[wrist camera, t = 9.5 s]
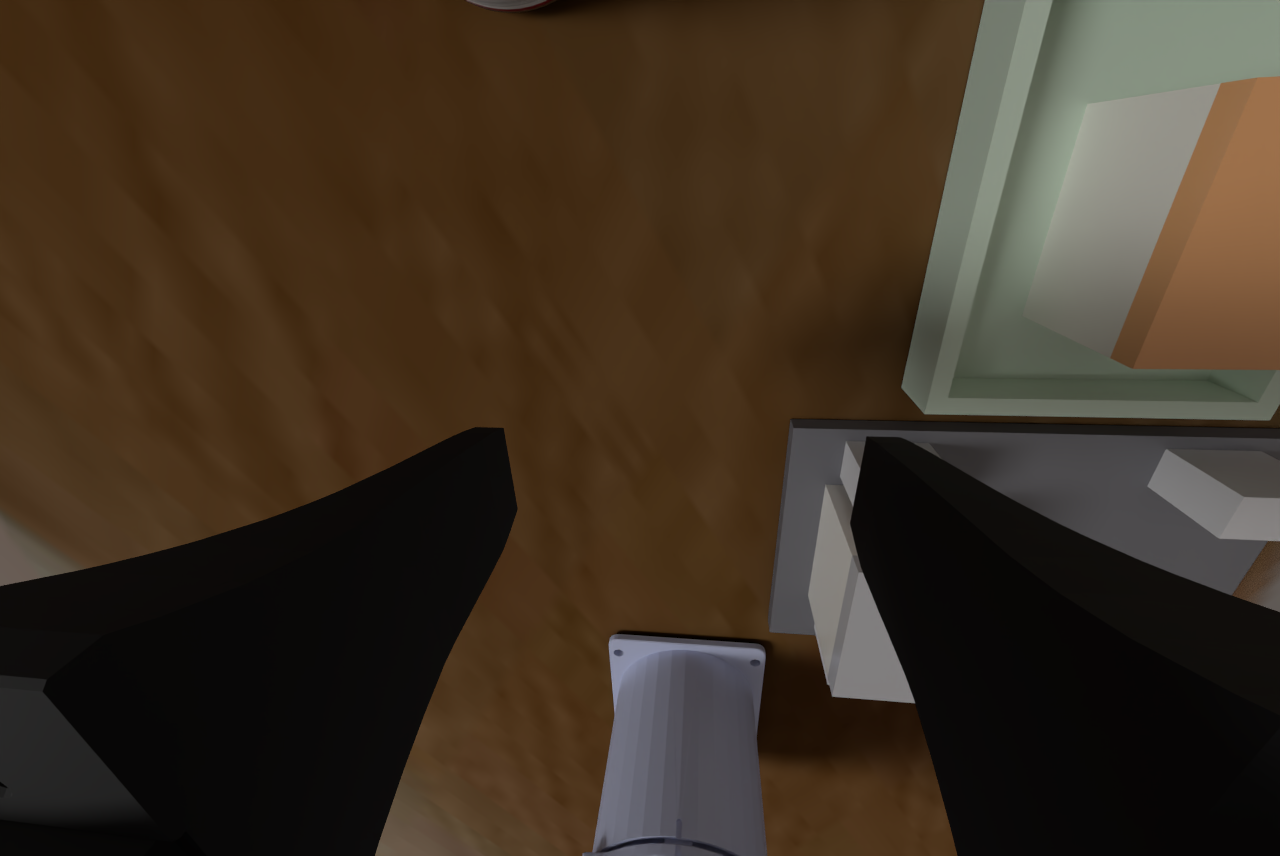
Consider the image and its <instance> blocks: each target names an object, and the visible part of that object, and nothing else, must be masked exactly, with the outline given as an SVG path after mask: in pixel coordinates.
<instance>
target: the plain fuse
mask: <svg viewBox="0 0 1280 856" xmlns="http://www.w3.org/2000/svg"><path fill="white" fill-rule="evenodd" d="M852 510H853V506H852V503H851V501H850V499H849V496H848V494H847V492H846V489H845V487H844V485H825V491H824V498H823V504H822V510H821V517H820V523H819V529H818V536H817V542H816V548H815V555H814V561H813V567H812V573H811V580H810V586H809V592H808V597H809V601H810V606H811V610H812V614H813V618H814V622H815V627H816V631H817V635H818V639H819V643H820V648H821V652H822V656H823V660H824V664H825V669H826V673H827V677H828V681H829V685H830V690H831V694H832V697H843V698H856V699H869V700H881V701H894V702H906V703H915V701H914V698H913V695H912V693H911V690H910V687H909V684H908V682H907V679H906V676H905V674H904V671H903V669H902V666H901V664H900V662H899V659H898V657H897V654H896V652H895V650H894V647H893V645H892V642H891V640H890V638H889V635H888V633H887V630H886V628H885V626H884V623H883V621H882V618H881V616H880V614H879V611H878V609H877V606H876V604H875V601H874V599H873V597H872V594H871V592H870V589H869V587H868V584H867V582H866V579H865V577H864V574H863V572H862V569H861V566H860V562H859V558H858V555H857V551H856V547H855V543H854V539H853V534H852V530H851V526H850V520H851V515H852Z"/></svg>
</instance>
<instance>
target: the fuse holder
mask: <svg viewBox="0 0 1280 856" xmlns="http://www.w3.org/2000/svg"><path fill="white" fill-rule="evenodd" d="M867 436H872V437H901V438H903V439H906V440H908V441H910V442H912V443H914V444H916V445H918V446H920V447H922V448H923V449H925V450H927V451H929V452H931V453H932V454H934V455H936V456H938V457H939V458H941V459H943V460H944V461H946V462H948V463H950V464H951V465H953V466H955V467H956V468H958V469H960V470H962V471H963V472H965V473H967V474H968V475H970V476H972V477H974V478H975V479H977V480H979V481H981V482H982V483H984V484H986V485H988V486H989V487H991V488H993V489H995V490H996V491H998V492H1000V493H1002V494H1004V495H1005V496H1007V497H1009V498H1011V499H1013V500H1015V501H1016V502H1018V503H1020V504H1022V505H1024V506H1026V507H1028V508H1030V509H1032V510H1034V511H1036V512H1038V513H1039V514H1041V515H1043V516H1045V517H1047V518H1049V519H1051V520H1053V521H1055V522H1057V523H1059V524H1061V525H1063V526H1065V527H1067V528H1069V529H1071V530H1074V531H1076V532H1078V533H1080V534H1082V535H1084V536H1086V537H1089V538H1091V539H1093V540H1095V541H1098V542H1100V543H1102V544H1104V545H1107V546H1109V547H1111V548H1113V549H1116V550H1118V551H1120V552H1123V553H1125V554H1127V555H1129V556H1132V557H1134V558H1136V559H1139V560H1141V561H1143V562H1146V563H1148V564H1151V565H1153V566H1156V567H1158V568H1161V569H1163V570H1166V571H1168V572H1171V573H1173V574H1176V575H1178V576H1181V577H1184V578H1186V579H1189V580H1192V581H1194V582H1197V583H1200V584H1202V585H1205V586H1208V587H1210V588H1213V589H1216V590H1218V591H1221V592H1224V593H1226V594H1229V595H1232V594H1233V592H1234V591H1235V589H1236V588H1237V586H1238V585H1239V583H1240V582H1241V580H1242V579H1243V577H1244V576H1245V574H1246V573H1247V571H1248V570H1249V568H1250V567H1251V565H1252V564H1253V562H1254V561H1255V559H1256V558H1257V556H1258V555H1259V553H1260V552H1261V550H1262V549H1263V547H1264V546H1265V544H1266V543H1267V541H1280V429H1269V428H1219V427H1168V426H1118V425H1067V424H1017V423H966V422H916V421H866V420H815V419H790V428H789V437H788V446H787V455H786V463H785V472H784V481H783V490H782V499H781V508H780V517H779V525H778V534H777V543H776V552H775V561H774V570H773V578H772V587H771V596H770V605H769V614H768V623H769V630H770V632H776V633H791V634H806V635H816V638H817V642H818V647H819V651H820V655H821V659H822V664H823V668H824V672H825V676H826V681H827V685H829V681H828V677H827V673H826V669H825V664H824V660H823V656H822V652H821V648H820V643H819V639H818V635H817V631H816V627H815V622H814V618H813V614H812V610H811V606H810V601H809V597H808V592H809V586H810V580H811V573H812V567H813V561H814V555H815V548H816V542H817V536H818V529H819V523H820V517H821V510H822V504H823V498H824V491H825V485H844V487H845V489H846V492H847V494H848V496H849V499H850V501H851V503H852V506H853V504H854V499H855V494H856V489H857V483H858V478H859V473H860V468H861V463H862V457H863V452H864V447H865V442H866V437H867Z"/></svg>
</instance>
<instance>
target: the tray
mask: <svg viewBox="0 0 1280 856" xmlns="http://www.w3.org/2000/svg"><path fill="white" fill-rule="evenodd" d="M1277 76H1280V0H985V3H984V7H983V12H982V16H981V21H980V26H979V30H978V35H977V40H976V44H975V49H974V53H973V58H972V63H971V67H970V72H969V77H968V81H967V86H966V90H965V95H964V100H963V104H962V109H961V114H960V118H959V123H958V127H957V132H956V137H955V141H954V146H953V151H952V155H951V160H950V164H949V169H948V174H947V178H946V183H945V188H944V192H943V197H942V201H941V206H940V211H939V215H938V220H937V225H936V229H935V234H934V238H933V243H932V248H931V252H930V257H929V262H928V266H927V271H926V275H925V280H924V285H923V289H922V294H921V299H920V303H919V308H918V312H917V317H916V322H915V326H914V331H913V336H912V340H911V345H910V349H909V354H908V359H907V363H906V368H905V373H904V377H903V382H902V386H901V388H902V389H903V390H904V391H905V392H906V394H907V395H908V396H909V397H910V398H911V399H912V400H913V402H914V403H915V404H916V405H917V406H918V407H919V408H920V410H921V411H922V412H923V413H924V414H945V415H1000V416H1055V417H1110V418H1165V419H1219V420H1271V418H1272V416H1273V415H1274V413H1275V411H1276V410H1277V408H1278V406H1279V404H1280V370H1207V369H1132V368H1129V367H1127V366H1125V365H1123V364H1121V363H1119V362H1117V361H1115V360H1113V359H1111V358H1109V357H1107V356H1104V355H1102V354H1100V353H1098V352H1096V351H1094V350H1092V349H1090V348H1088V347H1086V346H1084V345H1082V344H1080V343H1077V342H1075V341H1073V340H1071V339H1069V338H1067V337H1065V336H1063V335H1061V334H1059V333H1057V332H1055V331H1052V330H1050V329H1048V328H1046V327H1044V326H1042V325H1040V324H1038V323H1036V322H1034V321H1032V320H1030V319H1027V318H1025V317H1023V316H1022V314H1023V311H1024V308H1025V305H1026V301H1027V298H1028V295H1029V292H1030V288H1031V285H1032V282H1033V279H1034V276H1035V272H1036V269H1037V266H1038V263H1039V259H1040V256H1041V253H1042V250H1043V246H1044V243H1045V240H1046V237H1047V233H1048V230H1049V227H1050V224H1051V220H1052V217H1053V214H1054V211H1055V208H1056V204H1057V201H1058V198H1059V195H1060V191H1061V188H1062V185H1063V182H1064V178H1065V175H1066V172H1067V169H1068V165H1069V162H1070V159H1071V156H1072V153H1073V149H1074V146H1075V143H1076V140H1077V136H1078V133H1079V130H1080V127H1081V123H1082V120H1083V117H1084V114H1085V110H1086V107H1087V104H1091V103H1097V102H1104V101H1110V100H1116V99H1123V98H1129V97H1136V96H1142V95H1149V94H1155V93H1161V92H1168V91H1174V90H1181V89H1187V88H1193V87H1200V86H1206V85H1213V84H1219V83H1226V82H1232V81H1238V80H1245V79H1251V78H1258V77H1277Z"/></svg>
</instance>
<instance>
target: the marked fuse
mask: <svg viewBox="0 0 1280 856" xmlns="http://www.w3.org/2000/svg"><path fill="white" fill-rule="evenodd" d="M1022 316H1023V317H1025V318H1027V319H1030V320H1032V321H1034V322H1036V323H1038V324H1040V325H1042V326H1044V327H1046V328H1048V329H1050V330H1052V331H1055V332H1057V333H1059V334H1061V335H1063V336H1065V337H1067V338H1069V339H1071V340H1073V341H1075V342H1077V343H1080V344H1082V345H1084V346H1086V347H1088V348H1090V349H1092V350H1094V351H1096V352H1098V353H1100V354H1102V355H1104V356H1107V357H1109V358H1111V359H1113V360H1115V361H1117V362H1119V363H1121V364H1123V365H1125V366H1127V367H1129V368H1132V369H1207V370H1280V76H1277V77H1258V78H1251V79H1245V80H1238V81H1232V82H1226V83H1219V84H1213V85H1206V86H1200V87H1193V88H1187V89H1181V90H1174V91H1168V92H1161V93H1155V94H1149V95H1142V96H1136V97H1129V98H1123V99H1116V100H1110V101H1104V102H1097V103H1091V104H1087V107H1086V110H1085V114H1084V117H1083V120H1082V123H1081V127H1080V130H1079V133H1078V136H1077V140H1076V143H1075V146H1074V149H1073V153H1072V156H1071V159H1070V162H1069V165H1068V169H1067V172H1066V175H1065V178H1064V182H1063V185H1062V188H1061V191H1060V195H1059V198H1058V201H1057V204H1056V208H1055V211H1054V214H1053V217H1052V220H1051V224H1050V227H1049V230H1048V233H1047V237H1046V240H1045V243H1044V246H1043V250H1042V253H1041V256H1040V259H1039V263H1038V266H1037V269H1036V272H1035V276H1034V279H1033V282H1032V285H1031V288H1030V292H1029V295H1028V298H1027V301H1026V305H1025V308H1024V311H1023V314H1022Z"/></svg>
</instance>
